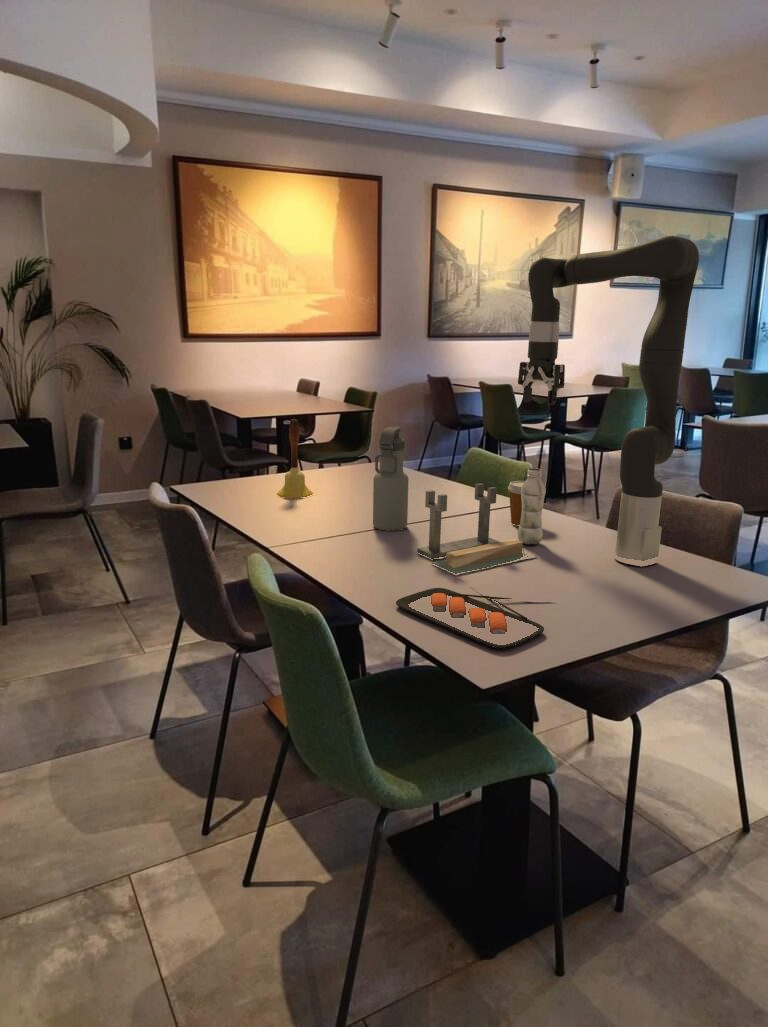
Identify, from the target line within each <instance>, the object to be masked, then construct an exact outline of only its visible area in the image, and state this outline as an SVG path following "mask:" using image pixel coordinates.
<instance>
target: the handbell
mask: <svg viewBox="0 0 768 1027" xmlns="http://www.w3.org/2000/svg"><path fill="white" fill-rule="evenodd" d="M288 438H289V439H288V440H289V443H290V452H291V453H290V454H291V455H290V456H291V457H290V459H291V462H290V463H291V464H290V465H291V468H290V470H289V471H287V472H286V473H285V475H284V485H283V486H282V488H281V489H279V490H278V491H277V492H276V496H277V495H278V496H280V497H279V498H282V497H285V498H284V499H290V498H299V499H302V498H301V497H307V496H310V495H312V494H313V495H314V492H313V491H312V490H311V489H309V487H307V485H306V480H305V479H306V477H305V474H304V472H303V471H300V469H299V464H298V463H299V456H298V454H299V453H298V450H299V449H298V447H299V441H300V426H299V421H298V419H294V418H293V419H290V422H289V427H288ZM313 495H312V496H313ZM278 496H277V497H278ZM307 498H308V497H307Z"/></svg>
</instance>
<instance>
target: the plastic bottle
mask: <svg viewBox="0 0 768 1027" xmlns="http://www.w3.org/2000/svg"><path fill="white" fill-rule="evenodd" d="M542 470H543V469H541V468H536V467H532V468H531V467H530V468H527V474H526V477H527V478H526V480H524V481H525V482H524V484H523V485H522V488H521V498H522V514H521V521H520V526H519V527H518V531H517V540H519V541H522V542H523V544H525V545H530V544H534V545H538V543H539V544H541V541H542V539H543V527H542V523H543V522H542V519H543V518H542V515H543V506H544V503H545V502H544V501H545V498H546V491H547V490H546V486H545V484H544V482H543V481H542V476H543V474H542V473H543V471H542Z"/></svg>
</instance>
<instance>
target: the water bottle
mask: <svg viewBox="0 0 768 1027" xmlns="http://www.w3.org/2000/svg"><path fill="white" fill-rule="evenodd" d="M400 433H401V427H399V426H388V427H385V428H383V430H382V431H381V434H380V438H379V439H378V442H379V448H378V451H379V454H377V455H376V456H375V459H374V460H375V462H374V469H375V472H376V473H375V474H374V475H373V482H372V484H373V485H372V486H373V492H372V496H373V498H372V499H373V500H372V525H373V527H374V528H375V529H376V530H377V529H378V530H379V529H381V530H380V531H384V530H398V531H402V530H404V529H406V528H407V527H408V515H409V514H408V512H409V511H408V509H409V476H408V474H407V473H406V472H404V451H405V439H404V438H403V437H400ZM401 529H402V530H401Z"/></svg>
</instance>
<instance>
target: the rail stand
mask: <svg viewBox="0 0 768 1027" xmlns="http://www.w3.org/2000/svg"><path fill="white" fill-rule="evenodd" d="M497 489H498V488H497V487H494V486H492V487H487V496H486V495H485V483H482V482H481V483H475V484H474V500H476V501H479V502H478V503H479V504H478V524H477V536H475V537H471V538H464V539H460V540H455V541H449V542H444V543H441V534H442V513H444V512H447V511H448V495H447V494H445V493H442V494H437V502H436V491H435V490H434V489H432V490H431V489H430V490H425V504H424V505H425V506H424V507H425V508H428V509H429V527H428V528H429V531H428V534H429V535H428V546H424V547H418V548H417V552H418V553H420V554H422V555H425V556H427V557H429V558H431V559H434V558H439V557H445V556H446V554H447V552H452V551H457V550H462V549H467V548H472V547H477V546H482V545H487V544H492V543H497V542H500V541H499V540H497V539H494V538H491V537H490V519H491V518H490V516H491V505H493V504H497V493H498V492H497V491H498V490H497ZM417 552H416V553H417Z"/></svg>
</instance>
